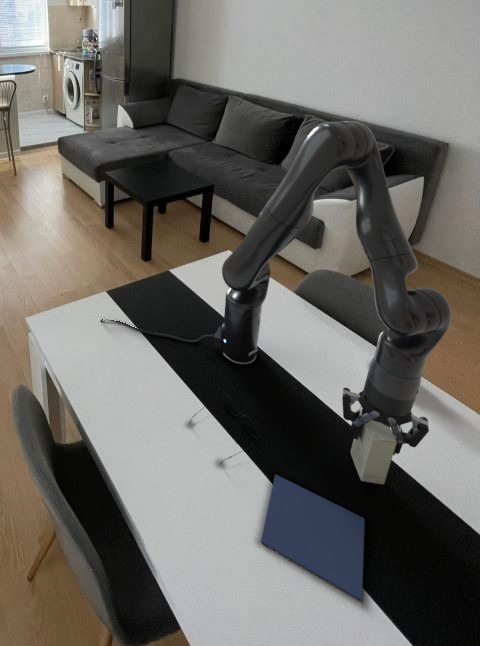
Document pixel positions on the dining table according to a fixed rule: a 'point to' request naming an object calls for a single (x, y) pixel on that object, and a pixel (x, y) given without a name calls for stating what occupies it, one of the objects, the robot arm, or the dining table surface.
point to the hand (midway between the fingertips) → (373, 442)
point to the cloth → (316, 535)
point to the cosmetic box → (373, 452)
